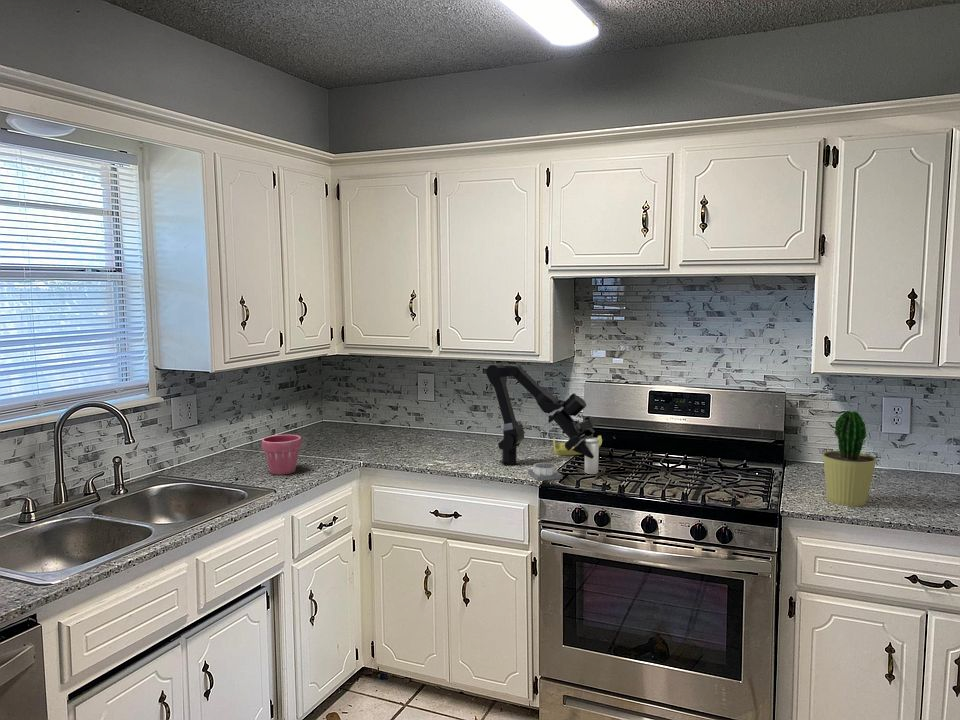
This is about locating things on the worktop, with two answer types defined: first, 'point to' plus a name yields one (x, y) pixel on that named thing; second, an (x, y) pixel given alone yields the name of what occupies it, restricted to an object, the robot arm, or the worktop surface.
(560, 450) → the plastic component
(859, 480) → the potted cactus
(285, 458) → the plant pot
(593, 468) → the white cylinder
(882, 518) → the worktop surface
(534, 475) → the duct collar
